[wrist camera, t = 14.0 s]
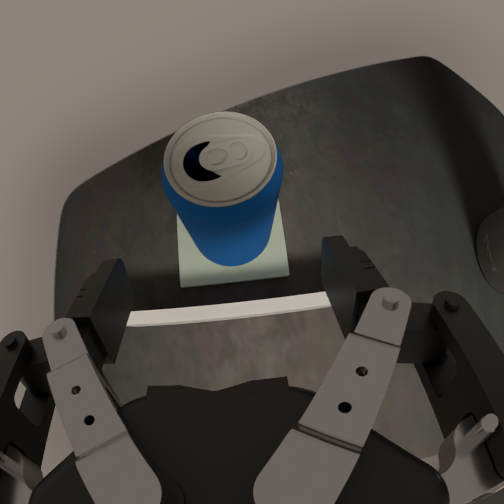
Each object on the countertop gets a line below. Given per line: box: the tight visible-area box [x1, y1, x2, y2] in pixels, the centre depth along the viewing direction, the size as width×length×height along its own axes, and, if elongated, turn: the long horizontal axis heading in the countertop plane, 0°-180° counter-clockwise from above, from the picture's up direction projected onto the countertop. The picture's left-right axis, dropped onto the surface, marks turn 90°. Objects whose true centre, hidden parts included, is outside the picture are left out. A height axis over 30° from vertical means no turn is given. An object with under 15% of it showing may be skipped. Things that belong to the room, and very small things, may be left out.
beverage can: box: [162, 111, 283, 266], centre depth 20 cm, size 6×6×12 cm
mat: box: [177, 200, 290, 288], centre depth 26 cm, size 9×9×1 cm
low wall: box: [126, 292, 331, 327], centre depth 23 cm, size 18×1×4 cm, turn 97°
